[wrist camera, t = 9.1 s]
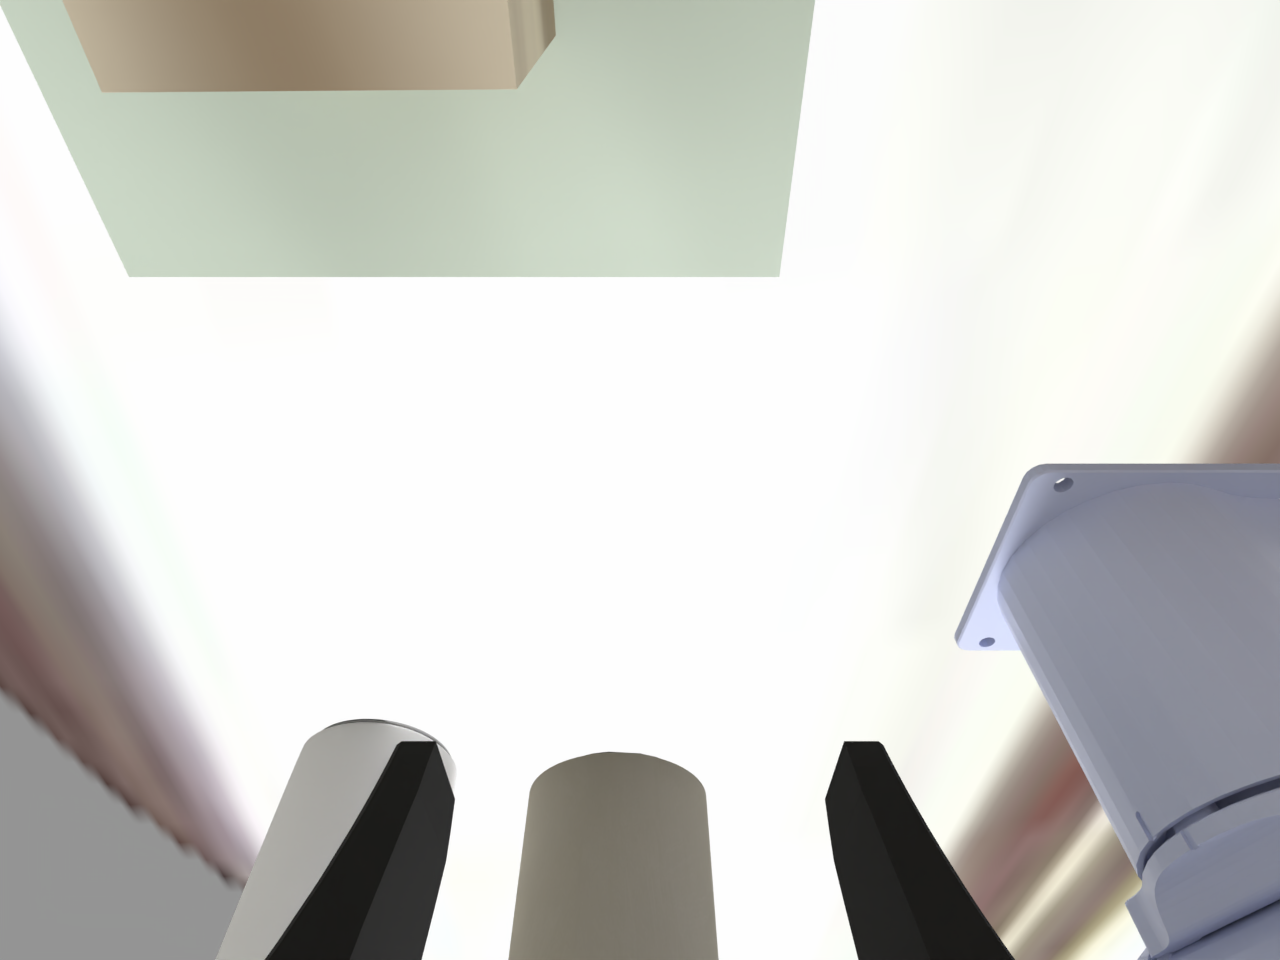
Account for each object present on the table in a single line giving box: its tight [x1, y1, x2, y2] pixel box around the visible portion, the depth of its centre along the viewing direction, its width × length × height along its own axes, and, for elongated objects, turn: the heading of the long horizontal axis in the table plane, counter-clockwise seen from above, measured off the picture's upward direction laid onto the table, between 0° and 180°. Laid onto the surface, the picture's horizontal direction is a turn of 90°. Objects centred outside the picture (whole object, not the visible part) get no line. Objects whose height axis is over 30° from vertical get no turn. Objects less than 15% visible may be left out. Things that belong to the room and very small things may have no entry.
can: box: [215, 719, 457, 960], centre depth 25 cm, size 6×6×12 cm
